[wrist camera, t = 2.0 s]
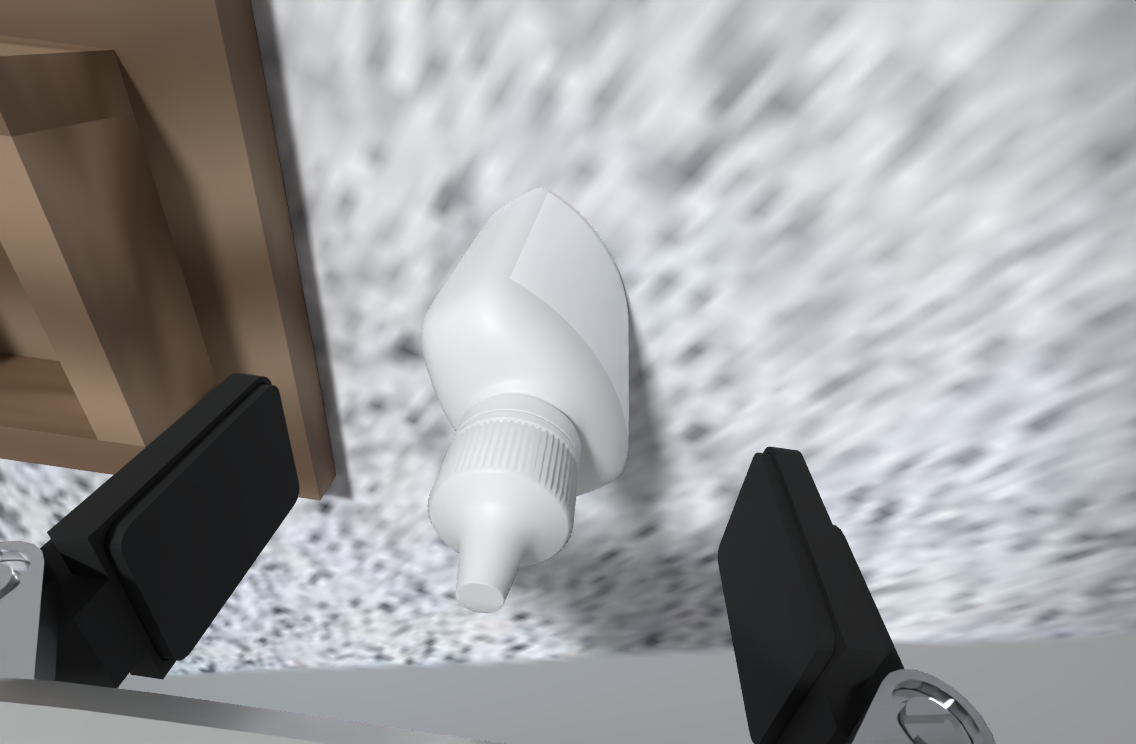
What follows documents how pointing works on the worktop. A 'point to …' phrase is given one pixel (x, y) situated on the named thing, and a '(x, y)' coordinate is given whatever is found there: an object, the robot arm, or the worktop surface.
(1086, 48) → the worktop surface
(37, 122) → the bottle stand
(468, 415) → the eye dropper bottle
